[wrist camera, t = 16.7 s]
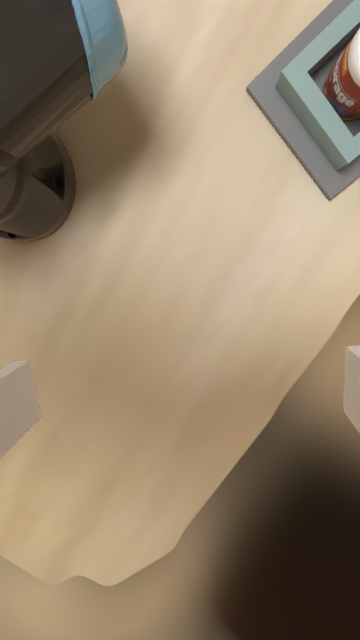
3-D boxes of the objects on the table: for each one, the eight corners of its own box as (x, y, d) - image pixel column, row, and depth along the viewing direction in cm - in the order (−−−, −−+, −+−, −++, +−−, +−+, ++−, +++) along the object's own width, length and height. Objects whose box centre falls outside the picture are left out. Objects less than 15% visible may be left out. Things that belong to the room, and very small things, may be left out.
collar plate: (246, 90, 36) (250, 70, 32) (370, -33, 32) (393, -75, 28) (328, 199, 38) (342, 195, 34) (454, 96, 34) (488, 76, 30)
